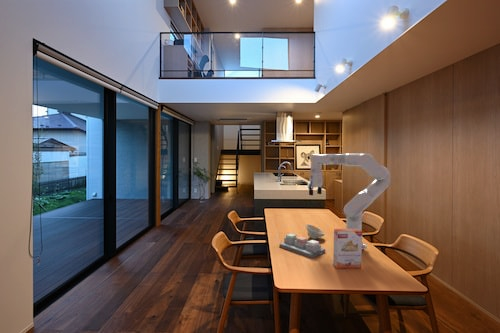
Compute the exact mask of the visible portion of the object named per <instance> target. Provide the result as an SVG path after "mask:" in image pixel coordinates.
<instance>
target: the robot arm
mask: <svg viewBox="0 0 500 333" xmlns="http://www.w3.org/2000/svg"><path fill="white" fill-rule="evenodd" d="M322 165H325V166H328V165H337V166H338V165H340V166H341V165H342V166H346V167H361V168H362V170H364V171H365V173H367V174H368V175H369V176H370V177H372V178H373V181H371V183H370V184H369V185H368V186H367V187H366V188H364V189H363V190H361V191H360V192H358V193H357V194H356V195H355V196H353V197H352V198H351V199H350V200H349V201H348V202H346V204H345V205H344V207H343V213H344V215H345V216H346V220H345V221H346V226H345V227H346V228H345V229H359V230H360V231H362V224H363V222H362V221H363V212H364V211H365V210H366V209H367V208H369V207H370V205H371V204H373V202H374V201H375V200H376V199H377V198H378V197H379V196H380V195H381V194H383V193H384V191H385V190H386V189H387V188H388V187H389V185H390V183H391V173H390V170H389V169H388V168H387V167H386V166H385V165H381V164H380V163H379V162H378V161H376V160H375V159H374V156H373V155H372V154H370V153H364V152H363V153H360V152H359V153H356V152H355V153H351V152H350V153H342V154H341V153H339V154H338V153H324V154H320V153H313V154H311V156H310V175H309V180H308V182H307V188H308V195H309V196H314V188H317V192H316V193H317V194H318V195H322V192H323V191H322V189H323V186H324V181H323V173H322ZM367 248H368V245H367V244H364V241H362V250H364V249H365V250H366V249H367Z"/></svg>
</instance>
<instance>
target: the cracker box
mask: <svg viewBox="0 0 500 333" xmlns="http://www.w3.org/2000/svg"><path fill="white" fill-rule="evenodd" d="M362 242H363V231H362V230H361V231H360V230H359V229H346V228H334V230H333V260H332V262H333V263H332V264H333V265H334V267H335V268H336V269H361V268H362V254H363V253H362V252H363V251H362Z"/></svg>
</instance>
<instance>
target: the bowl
mask: <svg viewBox="0 0 500 333" xmlns="http://www.w3.org/2000/svg"><path fill="white" fill-rule="evenodd" d="M305 228H306V230H307V236H308V237H309V238H310V239H311V240H318V239H319V238H322V237H324V236H325V233H324V232H323V231H322V230H321V229H320V228H319V227H316V226H314V225H311V224H305Z"/></svg>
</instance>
